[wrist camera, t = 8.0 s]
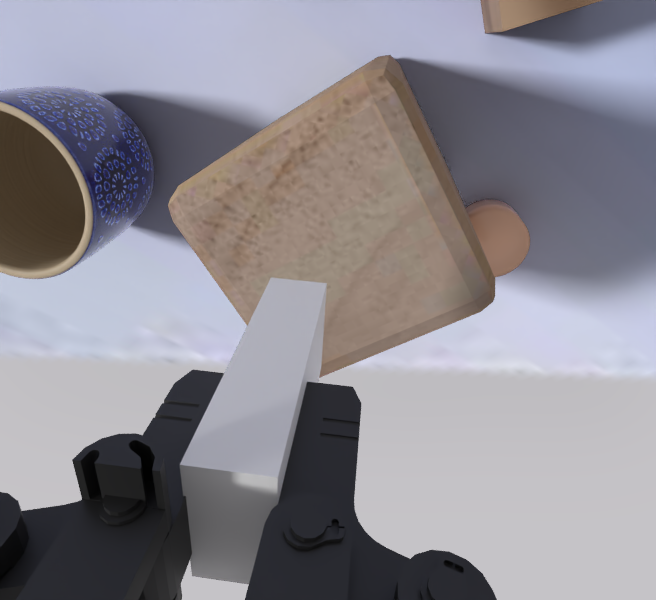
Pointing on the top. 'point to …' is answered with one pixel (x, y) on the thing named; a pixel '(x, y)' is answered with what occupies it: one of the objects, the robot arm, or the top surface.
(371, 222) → the wooden block
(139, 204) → the planter
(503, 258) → the terracotta puck
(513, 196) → the top surface
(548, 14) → the walnut cube
